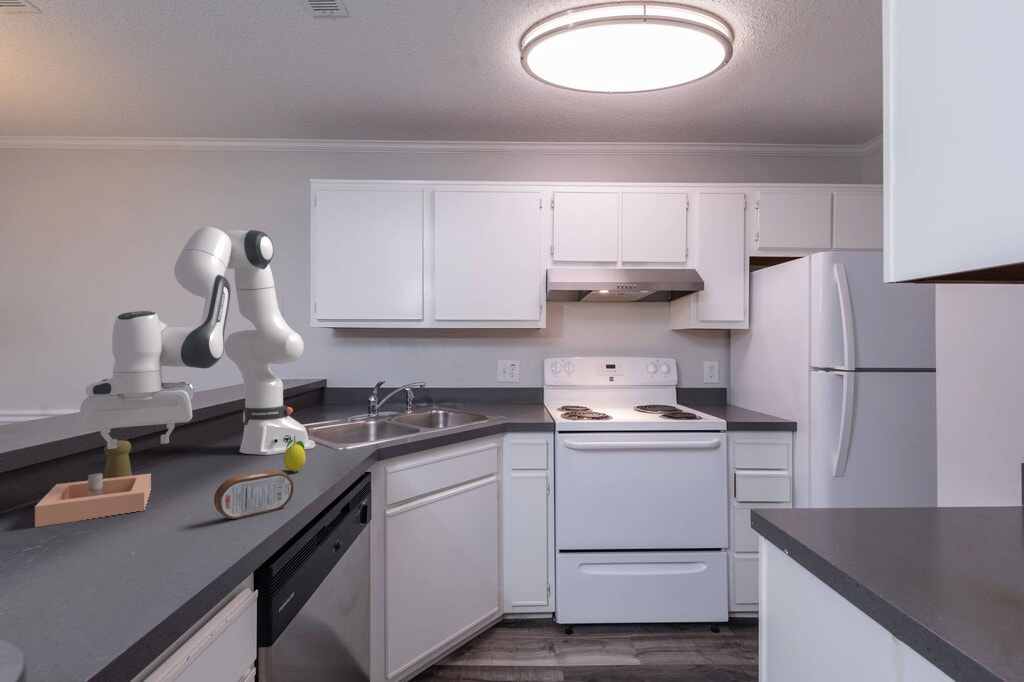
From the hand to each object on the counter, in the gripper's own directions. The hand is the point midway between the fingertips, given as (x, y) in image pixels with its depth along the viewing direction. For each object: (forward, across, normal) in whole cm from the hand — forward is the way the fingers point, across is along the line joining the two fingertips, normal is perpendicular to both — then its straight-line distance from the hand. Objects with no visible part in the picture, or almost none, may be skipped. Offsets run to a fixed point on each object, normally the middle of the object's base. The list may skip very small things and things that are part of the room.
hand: (139, 445), depth 112 cm
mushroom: (+12, +8, 0) cm, 15 cm away
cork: (+13, +6, -16) cm, 22 cm away
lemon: (+13, -33, -8) cm, 37 cm away
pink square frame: (+12, +7, 0) cm, 14 cm away
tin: (+13, -21, +22) cm, 33 cm away
